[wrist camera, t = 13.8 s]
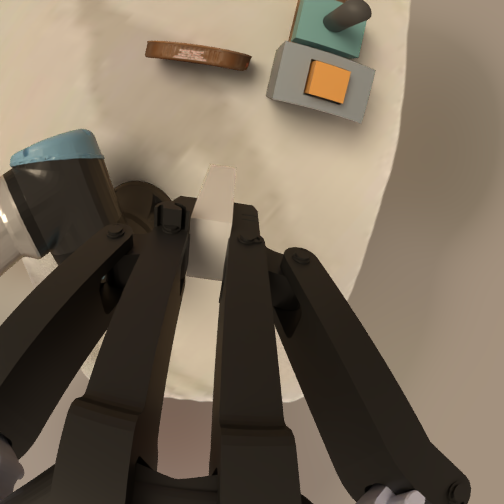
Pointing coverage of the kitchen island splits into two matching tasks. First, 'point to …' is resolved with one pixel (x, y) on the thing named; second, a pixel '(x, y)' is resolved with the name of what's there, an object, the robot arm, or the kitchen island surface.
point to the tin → (197, 54)
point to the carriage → (332, 26)
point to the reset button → (327, 81)
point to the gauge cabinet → (295, 75)
